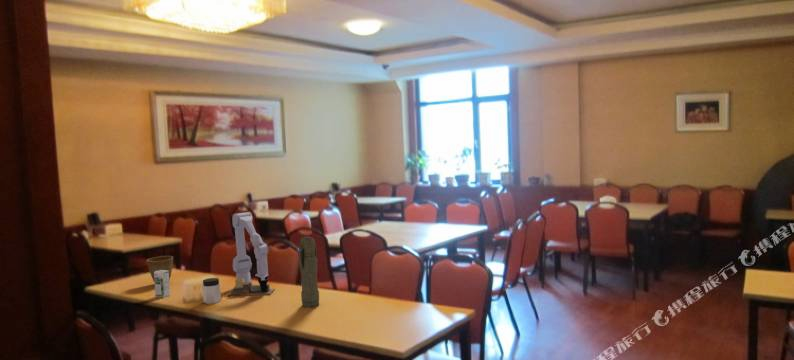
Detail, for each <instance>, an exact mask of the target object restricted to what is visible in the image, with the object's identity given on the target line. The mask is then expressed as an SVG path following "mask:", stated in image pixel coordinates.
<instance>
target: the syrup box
mask: <svg viewBox="0 0 794 360" xmlns="http://www.w3.org/2000/svg"><path fill="white" fill-rule="evenodd" d="M154 281H155V283H154V293H155V294H154V296H155V298H159V299H160V298H161V299H164V298H167V297H170V296H171V291H170V290H171V288H170V280H169V270H168V271H166V270H158V271H155V272H154ZM154 281H153V282H154Z"/></svg>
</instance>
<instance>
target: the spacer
mask: <svg viewBox="0 0 794 360" xmlns="http://www.w3.org/2000/svg"><path fill="white" fill-rule="evenodd" d="M234 280H235V281H234V282H235V286H236V287H243V284H244V283H245V279H244V278H237V277H236V279H234Z"/></svg>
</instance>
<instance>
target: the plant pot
mask: <svg viewBox="0 0 794 360" xmlns="http://www.w3.org/2000/svg"><path fill="white" fill-rule="evenodd" d="M146 263H147V266H148V271H149V273H150V276H151V278H152V280H153V283H154V284H155V281H154V272H155V271H158V270H166V271H168V270H169V281H170V279H171V277H172V272H173V263H174V256H172V255H160V256H156V257H155V256H154V257H151V258H148V259H146Z"/></svg>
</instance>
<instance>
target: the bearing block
mask: <svg viewBox="0 0 794 360" xmlns="http://www.w3.org/2000/svg"><path fill="white" fill-rule="evenodd" d="M252 283H253V282H252V281H249V282H245V283H244V284H243V290H234V287H233V288H232V289H231V290H230V292H229V293H228V294H226V297H248V296H249V295H253V296H271V295H272V294H274V292H275V289H276V288H270V290H269V291H268V292H267V291H266V292H262V291H260V292H249V285H253V284H252ZM249 297H250V296H249Z"/></svg>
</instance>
